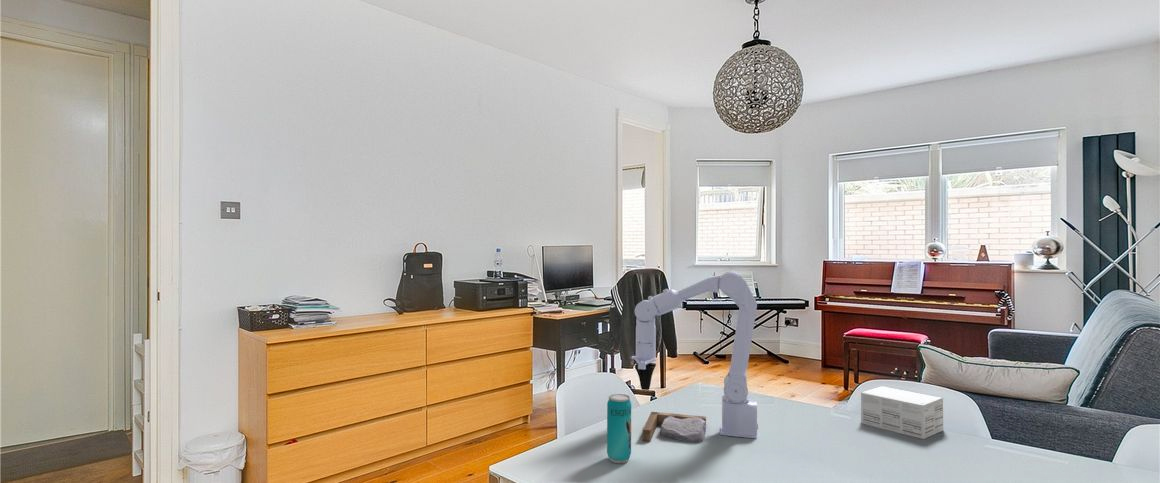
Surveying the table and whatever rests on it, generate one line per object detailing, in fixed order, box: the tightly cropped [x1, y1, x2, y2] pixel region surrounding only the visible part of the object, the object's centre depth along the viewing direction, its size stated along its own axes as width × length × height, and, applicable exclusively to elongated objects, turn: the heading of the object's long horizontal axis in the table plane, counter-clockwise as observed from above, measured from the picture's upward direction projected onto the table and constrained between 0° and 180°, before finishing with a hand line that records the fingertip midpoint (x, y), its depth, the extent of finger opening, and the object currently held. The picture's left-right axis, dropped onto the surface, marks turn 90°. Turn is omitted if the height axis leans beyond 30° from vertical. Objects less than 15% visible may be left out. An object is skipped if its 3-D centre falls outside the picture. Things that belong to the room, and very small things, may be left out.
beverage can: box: [606, 393, 632, 464], centre depth 129 cm, size 6×6×15 cm
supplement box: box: [860, 385, 944, 440], centre depth 155 cm, size 17×13×9 cm
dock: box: [642, 411, 707, 443], centre depth 147 cm, size 16×16×3 cm
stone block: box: [660, 416, 707, 443], centre depth 147 cm, size 12×5×10 cm
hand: (645, 389), depth 156 cm, fingers closed
